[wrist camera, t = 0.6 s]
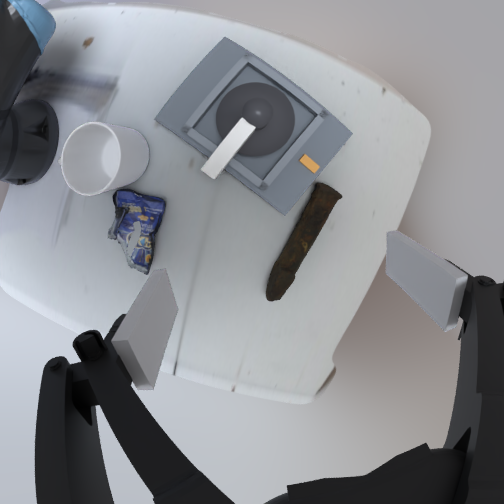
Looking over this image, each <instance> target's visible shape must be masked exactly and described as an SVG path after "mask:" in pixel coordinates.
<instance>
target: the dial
mask: <svg viewBox="0 0 504 504" xmlns="http://www.w3.org/2000/svg"><path fill="white" fill-rule="evenodd" d="M216 125H217V129H218V132H219V134H220V136H221V138H222V139H223V141H222V143H221V144H220V145H219V146H218V148H217V149H216V150H215V151H214V153H213V154H212V155H211V157H210V158H209V159H208V161H207V162H206V163H205V165H204V166H203V167H202V169H201V170H202V171H203V172H204V173H206V174H207V175H208V176H210V177H211V178H213V179H216V178H217V177H218V176H219V175H220V174H221V172H222V171H223V170H224V168H225V167H226V166H227V165H228V163H229V162H230V161H231V159H232V158H233V157H234V156H235V154H236V153H237V152H238V153H240V154H243V155H247V156H264V155H268V154H271V153H273V152H275V151H277V150H279V149H280V148H281V147H283V146H284V145H285V144H286V143H287V141H288V140H289V139H290V137H291V135H292V133H293V130H294V126H295V114H294V109H293V106H292V104H291V102H290V101H289V99H288V98H287V97H286V95H285V94H284V93H283V92H281V91H280V90H279V89H277V88H276V87H274V86H272V85H269V84H265V83H260V82H250V83H245V84H241V85H239V86H237V87H235V88H233V89H232V90H230V91H229V92H228V93H227V94H226V95H225V96H224V97H223V99H222V100H221V102H220V104H219V106H218V108H217V113H216Z"/></svg>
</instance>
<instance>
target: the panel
mask: <svg viewBox="0 0 504 504" xmlns="http://www.w3.org/2000/svg"><path fill="white" fill-rule="evenodd" d="M250 82H260V83H265V84H269V85H272V86H274V87H276V88H277V89H279V90H280V91H281V92H283V93H284V94H285V95H286V97H287V98H288V99H289V101H290V102H291V104H292V106H293V109H294V114H295V126H294V130H293V133H292V135H291V137H290V139H289V140H288V141H287V143H286V144H285V145H284V146H283V147H281V148H280V149H279V150H277V151H275V152H273V153H271V154H268V155H264V156H247V155H243V154H240V153H238V152H237V153H236V154H235V156H234V157H233V158H232V159H231V161H230V162H229V163H228V165H227V166H226V167H225V168H224V169H225V170H226V171H227V172H229V173H230V174H231V175H233V176H234V177H235V178H237V179H238V180H239V181H241V182H242V183H243V184H245V185H246V186H247V187H249V188H250V189H251V190H252V191H254V192H255V193H256V194H258V195H259V196H260V197H262V198H263V199H264V200H265V201H267V202H268V203H269V204H270V205H272V206H273V207H274V208H276V209H277V210H278V211H279V212H281V213H282V214H283V215H284V216H285V215H286V214H287V212H288V211H289V210H290V209H291V208H292V206H293V205H294V204H295V203H296V202H297V200H298V199H299V198H300V197H301V196H302V194H303V193H304V192H305V191H306V190H307V188H308V187H309V186H310V185H311V184H312V182H313V181H314V180H315V179H316V178H317V176H318V175H319V174H320V173H321V171H322V170H323V169H324V168H325V167H326V165H327V164H328V163H329V162H330V161H331V159H332V158H333V157H334V156H335V155H336V153H337V152H338V151H339V150H340V148H341V147H342V146H343V145H344V144H345V142H346V141H347V140H348V139H349V138H350V136H351V135H352V134H353V133H352V132H351V131H350V130H349V129H348V128H347V127H346V126H344V125H343V124H342V123H341V122H340V121H339V120H338V119H337V118H336V117H335V116H333V115H332V114H331V113H330V112H329V111H328V110H327V109H325V108H324V107H323V106H322V105H321V104H320V103H318V102H317V101H316V100H315V99H314V98H312V97H311V96H310V95H309V94H308V93H306V92H305V91H304V90H303V89H301V88H300V87H299V86H297V85H296V84H295V83H294V82H292V81H291V80H290V79H288V78H287V77H286V76H284V75H283V74H281V73H280V72H279V71H277V70H276V69H275V68H273V67H272V66H270V65H269V64H267V63H266V62H265V61H263V60H262V59H260V58H259V57H257V56H256V55H254V54H253V53H251V52H249V51H248V50H246V49H245V48H243V47H242V46H240V45H238V44H237V43H235V42H233V41H232V40H230V39H228V38H227V37H224V38H223V39H222V40H221V41H220V42H219V43H218V44H217V45H216V46H215V47H214V48H213V49H212V50H211V51H210V52H209V53H208V54H207V55H206V57H205V58H204V59H203V60H202V61H201V62H200V63H199V64H198V65H197V67H196V68H195V69H194V70H193V71H192V72H191V73H190V75H189V76H188V77H187V78H186V79H185V80H184V82H183V83H182V84H181V85H180V86H179V88H178V89H177V90H176V91H175V93H174V94H173V95H172V96H171V98H170V99H169V100H168V102H167V103H166V104H165V105H164V107H163V108H162V109H161V111H160V112H159V114H158V115H157V116H156V118H155V119H154V120H156V121H157V122H159V123H160V124H162V125H163V126H165V127H166V128H168V129H169V130H171V131H172V132H173V133H175V134H176V135H178V136H179V137H181V138H182V139H183V140H185V141H186V142H188V143H189V144H190V145H192V146H193V147H195V148H196V149H197V150H199V151H200V152H202V153H203V154H204V155H206V156H207V157H208V158H210V157H211V155H212V154H213V153H214V151H215V150H216V149H217V148H218V146H219V145H220V144H221V143H222V141H223V139H222V138H221V136H220V134H219V132H218V129H217V125H216V113H217V108H218V106H219V104H220V102H221V100H222V99H223V97H224V96H225V95H226V94H227V93H228V92H229V91H230V90H232V89H233V88H235V87H237V86H239V85H241V84H245V83H250Z"/></svg>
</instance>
